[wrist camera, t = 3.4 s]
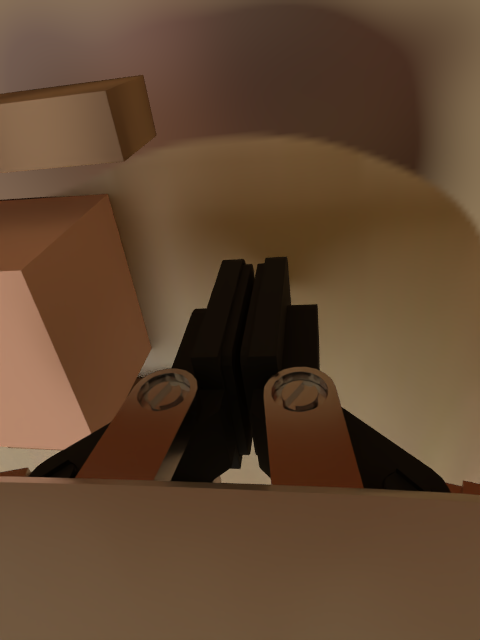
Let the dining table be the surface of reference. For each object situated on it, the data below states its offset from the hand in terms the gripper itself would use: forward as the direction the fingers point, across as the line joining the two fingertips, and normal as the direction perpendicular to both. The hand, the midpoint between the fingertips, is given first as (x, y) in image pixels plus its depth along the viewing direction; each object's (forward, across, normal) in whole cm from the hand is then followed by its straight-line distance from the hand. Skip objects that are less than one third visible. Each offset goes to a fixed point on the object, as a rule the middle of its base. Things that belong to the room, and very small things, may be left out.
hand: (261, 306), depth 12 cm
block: (+3, +8, 0) cm, 8 cm away
